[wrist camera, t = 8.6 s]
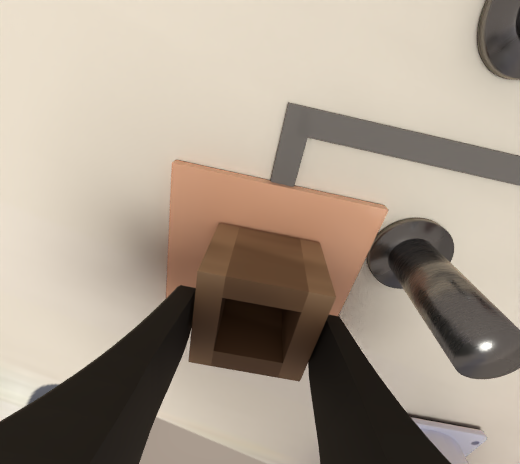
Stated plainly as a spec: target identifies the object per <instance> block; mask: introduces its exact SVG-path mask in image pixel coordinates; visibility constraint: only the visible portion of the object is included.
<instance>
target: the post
mask: <svg viewBox="0 0 520 464" xmlns="http://www.w3.org/2000/svg"><path fill="white" fill-rule="evenodd" d="M453 253H454V243H453V239H452V237H451V235H450V234H449V233H448V232H447V231H446V230H445V229H444V228H443V227H441V226H440V225H439V224H437V223H436V222H434V221H431V220H428V219H424V218H409V219H404V220H401V221H398V222H395V223H393V224H391V225H389V226H387V227H386V228H385V229H383V230H382V231H381V232H380V233H379V234H378V235H377V236H376V238H375V240H374V242H373V244H372V246H371V248H370V250H369V252H368V254H367V262H368V265H369V268H370V270H371V272H372V274H373V275H374V277H375V278H376V279H377V280H378V281H379V282H381V283H382V284H384V285H386V286H389V287H392V288H399V289H404V290H405V292H406V293H407V295H408V296H409V298H410V300H411V301H412V303H413V304H414V306H415V307H416V309H417V310H418V312H419V313H420V315H421V316H422V318H423V320H424V321H425V323H426V324H427V326H428V327H429V329H430V330H431V332H432V333H433V335H434V336H435V338H436V340H437V341H438V343H439V344H440V346H441V347H442V349H443V350H444V352H445V353H446V355H447V356H448V358H449V360H450V361H451V363H452V364H453V366H454V367H455V369H456V370H457V371H458V372H459V373H460V374H461V375H463V376H466V377H469V378H473V379H491V378H497V377H501V376H504V375H507V374H509V373H512V372H514V371H516V370H517V369H519V368H520V330H519V329H518V328H517V327H516V326H515V325H514V324H513V323H512V322H511V321H510V320H509V319H508V318H507V317H506V316H505V315H504V314H503V313H502V312H501V311H500V310H499V309H498V308H497V307H496V306H495V305H493V304H492V303H491V302H490V301H489V300H488V299H487V298H486V297H485V296H484V295H483V294H482V293H481V292H480V291H479V290H478V289H477V288H476V287H475V286H474V285H473V284H472V283H471V282H470V281H469V280H468V279H467V278H466V277H465V276H464V275H463V274H462V273H461V272H459V271H458V270H457V269H456V268H455V267H454V266H453V265H452V264H451V263H450V262H451V260H452V257H453Z"/></svg>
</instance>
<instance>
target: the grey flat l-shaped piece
mask: <svg viewBox="0 0 520 464" xmlns="http://www.w3.org/2000/svg"><path fill="white" fill-rule="evenodd" d="M307 138H312V139H317V140H321V141H326V142H330V143H334V144H339V145H343V146H348V147H352V148H356V149H361V150H365V151H370V152H374V153H379V154H383V155H387V156H392V157H396V158H401V159H405V160H409V161H414V162H418V163H423V164H427V165H431V166H436V167H440V168H445V169H449V170H453V171H458V172H462V173H467V174H471V175H476V176H480V177H484V178H489V179H493V180H498V181H502V182H506V183H511V184H515V185H520V156H517V155H512V154H508V153H504V152H499V151H495V150H491V149H486V148H482V147H478V146H474V145H469V144H465V143H461V142H456V141H452V140H448V139H443V138H439V137H435V136H430V135H426V134H422V133H417V132H413V131H409V130H405V129H400V128H396V127H392V126H387V125H383V124H379V123H374V122H370V121H366V120H361V119H357V118H353V117H348V116H344V115H340V114H335V113H331V112H327V111H323V110H318V109H314V108H310V107H305V106H301V105H297V104H292V103H288V107H287V111H286V115H285V120H284V124H283V128H282V133H281V137H280V141H279V146H278V150H277V154H276V159H275V163H274V167H273V172H272V176H271V181H270V182H273V183H278V184H282V185H287V186H292V187H294V185H295V181H296V178H297V174H298V170H299V167H300V163H301V159H302V156H303V152H304V149H305V145H306V141H307Z"/></svg>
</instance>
